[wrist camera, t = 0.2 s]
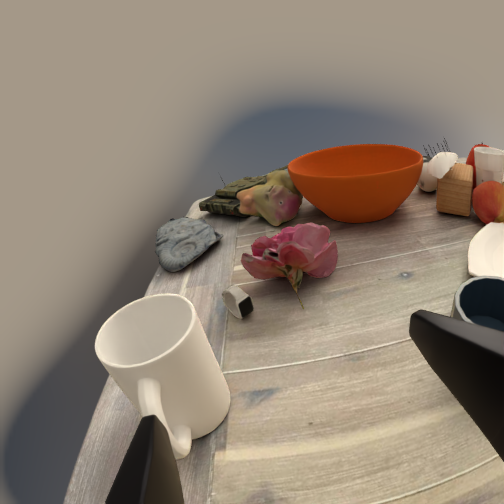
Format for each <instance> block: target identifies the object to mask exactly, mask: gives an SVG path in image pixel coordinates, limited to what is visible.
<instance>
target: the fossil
mask: <svg viewBox="0 0 504 504" xmlns="http://www.w3.org/2000/svg"><path fill="white" fill-rule="evenodd" d="M157 231H158V233H157V235H156V254H157V255H158V257H159V264H160V265H161V267H163V268H164V269H165V270H167V271H170V272H175V271H179V270H181V269H182V268H184V267H185V266H187V265H188V264H189V263H191V262H192V261H194V260H195V259H196V258H198V257H199V256H200V255H201V254H202V253H203V252H204V251H206V250H207V249H208V248H209V247H210V246H211V245H213V244H214V243H215V242H217V241H218V240H219V239H221V238H222V237H223V235H221V234H219V233H217V232H215V230H214V229H212V227H211V226H210V225H209V224H207V223H206V221H205V220H198V219H192V218H188V217H186V218H185V217H182V218H180V219H170V220H169V221H168V223H167V224H165V225H163V226H161V227H160V228H159V229H158V230H157Z"/></svg>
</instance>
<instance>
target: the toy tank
mask: <svg viewBox="0 0 504 504" xmlns="http://www.w3.org/2000/svg"><path fill="white" fill-rule="evenodd" d="M286 168H288V165H287V166H285V167H282V168H280V169H276V170H274V171H277V170H284V169H286ZM274 171H272V172H274ZM270 173H271V172H270ZM267 175H268V174H267ZM267 175H265V176H258V177H245V178H243V179H240V180H237V181H235V182H232V183H230V184H228V185H227V186H225V187H224V188H223V189H222V190H221V189H219V190H216V193H215V195H214V196H212V197H210V198H208V199H206V200H204V201H202V202H200V203H199V207H200V211H208V212H211V213H219V214H226V215H236V216H241V217H249V216H250V215H247V214H242V213H241V212H240V210H239V208H240V200H239V199H237V193H238V192H240V191H242V190H246V189H250V188H252V187H254V186H256V185H265V184H266V183H267V179H266V176H267Z"/></svg>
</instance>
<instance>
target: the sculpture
mask: <svg viewBox="0 0 504 504" xmlns="http://www.w3.org/2000/svg"><path fill="white" fill-rule="evenodd" d="M266 179H267V183H266V184H265V185H256V186H254V187H252V188H250V189H246V190H242V191H240V192H238V193H237V199H239V200H240V208H239V210H240V212H241V213H242V214H247V215H254V216H257V217H264V218H265V219H266V220H267V221H268V222H269V223H270V224H272V225H274V226H279V225H280V224H281V223H282V222H286V221H289V220H291V219H292V218H294V217H295V216H296V214H297V213H298V210H299V208H300V206H301V204H302V198H303V195H302V194H301V193H300V192H299V190H298V189H297V188H296V186H295V185H294V183H293V182H292V180H291V178H290V175H289V173H288V170H277V171H274V172H271V173H269V174H268V175H267V176H266Z"/></svg>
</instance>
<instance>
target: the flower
mask: <svg viewBox="0 0 504 504" xmlns="http://www.w3.org/2000/svg"><path fill="white" fill-rule="evenodd" d="M329 234H330V230H329V229H328V228H327V227H326V226H325V225H322V226H319V225H317V224H314V223H312V222H310V223H306V224H304V225H303V224H297V225H296V226H295V227H291V226H289V227H285V228H283V229H282V231H281V233H278V234H277V235H275V236H274V237H272V238H268V237H266V236H263V237H259V238H258V239H256V240H255V242H254V243H253V245H251V247H252V252H253V256H252V255H249V254H247V253H243V254H242V259H241V262H242V264H243V266H244V268H245V269H246V270H247V271H248V272H249V273H250V274H251V275H252V276H253V277H254V278H258V279H270V278H275V277H279V276H281V277H287V279H288V280H289V281H290V282H291V284H292V287H293V289H294V290H295V292H296V294H297V286H298V288H299V285H300V283H301V280H302V276H303V272H306V273H308V275H309V276H312V277H315V278H323V277H327V276H329V275H330V274H331V273H332V272H333V271H334V270H335V268H336V264H337V259H338V254H337V253H338V251H337V245H336V241H335V240H333V241H332V242H331V243H328V239H329ZM299 289H300V288H299ZM297 296H298V295H297ZM298 298H299V297H298ZM299 300H300V299H299ZM300 303H301V305H302V302H301V300H300ZM302 308H303V309H304V307H303V305H302Z"/></svg>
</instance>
